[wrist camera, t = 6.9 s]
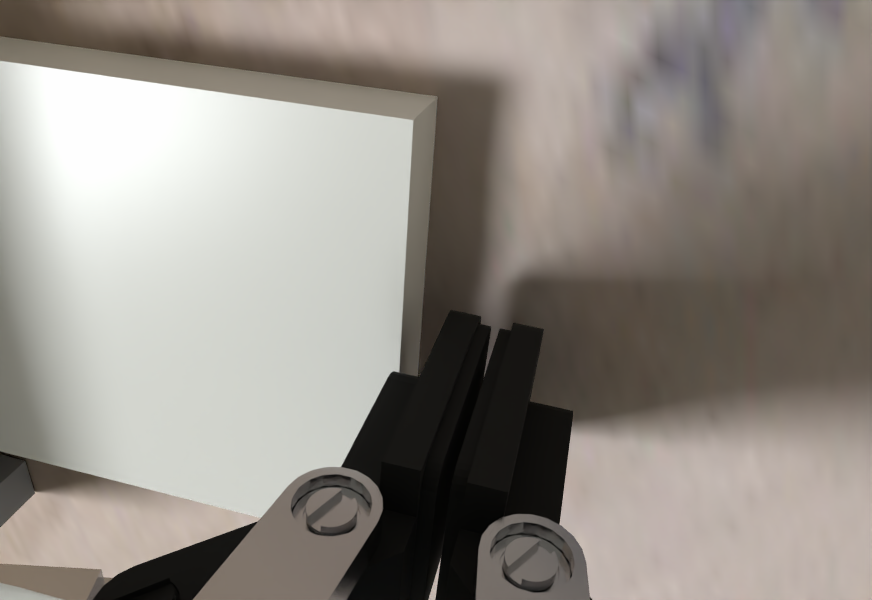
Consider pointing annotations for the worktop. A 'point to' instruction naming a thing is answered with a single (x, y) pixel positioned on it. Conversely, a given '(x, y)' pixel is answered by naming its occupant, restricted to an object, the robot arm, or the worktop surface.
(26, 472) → the gray block
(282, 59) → the worktop surface
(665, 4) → the worktop surface
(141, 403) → the cutting board
